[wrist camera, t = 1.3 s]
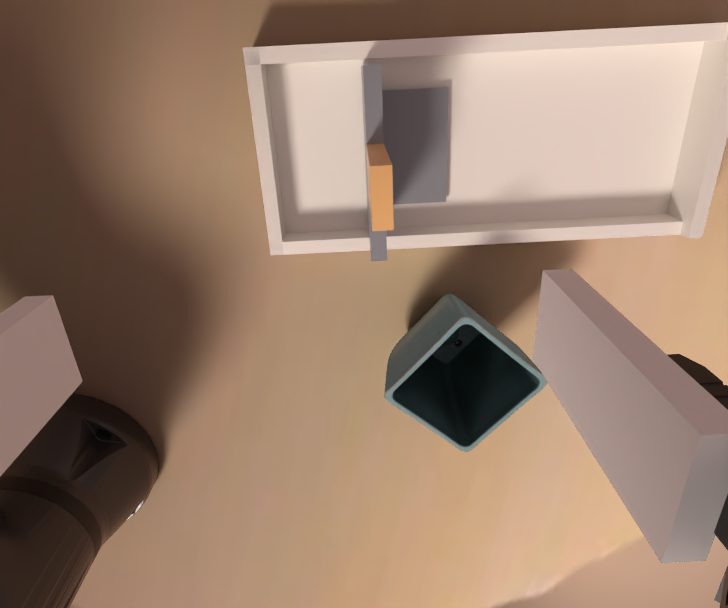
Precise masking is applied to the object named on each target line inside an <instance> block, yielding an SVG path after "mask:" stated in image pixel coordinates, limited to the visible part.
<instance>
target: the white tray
mask: <svg viewBox="0 0 728 608" xmlns="http://www.w3.org/2000/svg"><path fill="white" fill-rule="evenodd" d="M243 54H244V61H245V69H246V76H247V83H248V91H249V98H250V106H251V113H252V120H253V128H254V135H255V143H256V150H257V157H258V165H259V172H260V180H261V187H262V194H263V202H264V209H265V217H266V224H267V232H268V239H269V246H270V254H271V255H286V254H306V253H326V252H345V251H365V250H370V241H369V229H368V211H367V189H366V167H365V144H364V122H363V100H362V77H361V66H362V65H376V64H382V90H401V89H420V88H439V87H449V105H448V146H447V187H446V202H434V203H414V204H395V205H393V219H394V230H388V231H386V239H387V249H405V248H424V247H444V246H464V245H484V244H503V243H523V242H543V241H563V240H582V239H602V238H622V237H642V236H661V235H682V236H684V237H686V238H688V239H691V238H702V235H703V232H704V228H705V224H706V220H707V216H708V212H709V208H710V204H711V200H712V196H713V192H714V188H715V185H716V181H717V177H718V173H719V169H720V165H721V161H722V157H723V153H724V149H725V145H726V142H727V138H728V22H724V23H705V24H686V25H667V26H648V27H629V28H609V29H590V30H571V31H552V32H533V33H514V34H495V35H475V36H456V37H437V38H418V39H399V40H380V41H360V42H341V43H322V44H303V45H284V46H265V47H245V48H243Z"/></svg>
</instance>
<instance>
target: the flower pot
mask: <svg viewBox="0 0 728 608" xmlns="http://www.w3.org/2000/svg"><path fill="white" fill-rule="evenodd" d="M457 340H460V341H461V342H460V344H459V345H456V344H455V342H456V341H457ZM546 384H547V380H546V379H545V377H544V376H543V374H542V372H541V371H540V370H539V369H538V368H537V367H536V365H535V364H534V363H533V362H532V361H531V360H530V359H529V358H528V356H527V355H526V354H525V353H524V352H523V351H522V350H521V349H520V348H519V347H518V346H517V345H516V344H515V343H514V342H513V341H511V340H510V339H509V338H507V337H506V336H505V335H504V334H502V333H501V332H500V331H499V330H497V329H496V328H495V327H494V326H492V325H491V324H490V323H489V322H487V321H486V320H485V319H484V318H483V317H481V316H480V315H479V314H478V313H476V312H475V311H474V310H473V309H471V308H470V307H469V306H468V305H466V304H465V303H464V302H463V301H462V300H461V299H459V298H458V297H457V296H455V295H453V294H446V295H444V296H443V297H442V298H441V299H440V300H439V301H438V302H437V303H436V304H435V305H434V306H433V307H432V308H431V309H430V310H429V311H428V312H427V313H426V314H425V315H424V316H423V317H422V318H421V319H420V320H419V321H418V322H417V323H416V324H415V325H414V326H413V327H412V328H411V329H410V330H409V331H408V332H407V333H406V334H405V335H404V336H403V337H402V339H401V340H400V341H399V342H398V343H397V344H396V346H395V347H394V349H393V350H392V352H391V354H390V357H389V360H388V365H387V373H386V384H385V394H384V397H385V399H386V400H387V401H388V402H389V403H391V404H392V405H394V406H395V407H397V408H398V409H400V410H401V411H403V412H404V413H406V414H408V415H409V416H410V417H412V418H414V419H415V420H417V421H418V422H420V423H421V424H423V425H424V426H426V427H427V428H429V429H430V430H432V431H433V432H435V433H436V434H438V435H439V436H441V437H442V438H443V439H445V440H446V441H448V442H449V443H450V444H452V445H453V446H455V447H456V448H457V449H459V450H461V451H464V452H469V451H470V450H472V449H473V448H474V447H476V446H477V445H478V444H479V443H480V442H481V441H482V440H483V439H485V438H486V437H487V436H488V435H489V434H490V433H491V432H493V431H494V430H495V429H496V428H497V427H498V426H499V425H500V424H502V423H503V422H504V421H505V420H506V419H507V418H509V417H510V416H511V415H512V414H513V413H514V412H515V411H516V410H518V409H519V408H520V407H522V406H523V405H524V404H525V403H526V402H527V401H528V400H530V399H531V398H532V397H533V396H534V395H536V394H537V393H538V392H540V391H541V390H542V389H543V388H544V387H545V385H546Z"/></svg>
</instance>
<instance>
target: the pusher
mask: <svg viewBox="0 0 728 608" xmlns="http://www.w3.org/2000/svg"><path fill="white" fill-rule="evenodd" d="M361 77H362V100H363V122H364V144H365V167H366V189H367V211H368V229H369V241H370V252H371V261H383V260H387V239H386V231H388V230H394V219H393V205H395V204H414V203H434V202H446V187H447V146H448V105H449V87H439V88H420V89H401V90H382V64H376V65H362V66H361Z"/></svg>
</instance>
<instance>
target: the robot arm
mask: <svg viewBox="0 0 728 608" xmlns="http://www.w3.org/2000/svg"><path fill="white" fill-rule="evenodd" d="M533 360H534V361H535V363H536V365H537V366H538V368H539V369H540V371H541V372H542V374H543V376H544V377H545V379H546V380H547V382H548V384H549V385H550V387H551V388H552V390H553V392H554V393H555V395H556V396H557V398H558V400H559V401H560V403H561V404H562V406H563V407H564V409H565V411H566V412H567V414H568V415H569V417H570V419H571V420H572V422H573V423H574V425H575V427H576V428H577V430H578V431H579V433H580V435H581V436H582V438H583V439H584V441H585V443H586V444H587V446H588V447H589V449H590V450H591V452H592V454H593V455H594V457H595V458H596V460H597V462H598V463H599V465H600V466H601V468H602V470H603V471H604V473H605V474H606V476H607V478H608V479H609V481H610V482H611V484H612V485H613V487H614V489H615V490H616V492H617V493H618V495H619V497H620V498H621V500H622V501H623V503H624V505H625V506H626V508H627V509H628V511H629V513H630V514H631V516H632V517H633V519H634V521H635V522H636V524H637V525H638V527H639V528H640V530H641V532H642V533H643V535H644V536H645V538H646V540H647V541H648V543H649V544H650V546H651V547H652V549H653V551H654V552H655V554H656V556H657V557H658V559H659V560H660V562H661V563H671V562H690V561H706V559H707V556H708V554H709V551H710V548H711V546H712V543H713V540H714V537H715V535H716V536H717V537H718V538H719V540H720V541H721V542H722V544H723V545H724V546H725V547H726V549H727V550H728V386H727V385H723V382H722V381H721V380H720V379H719V378H718V377H716V376H715V375H714V374H713V373H712V372H710V371H709V370H708V369H707V368H706V367H704V366H702V365H700V364H698V363H696V362H694V361H692V360H690V359H688V358H686V357H684V356H682V355H680V354H671V355H666V354H665V353H664V352H663V351H662V350H661V349H660V348H659V347H658V346H657V345H655V344H654V343H653V342H652V341H651V340H650V339H649V338H648V337H647V336H645V335H644V334H643V333H642V332H641V331H640V330H639V329H638V328H637V327H635V326H634V325H633V324H632V323H631V322H630V321H629V320H628V319H627V318H625V317H624V316H623V315H622V314H621V313H620V312H619V311H618V310H617V309H616V308H614V307H613V306H612V305H611V304H610V303H609V302H608V301H607V300H606V299H604V298H603V297H602V296H601V295H600V294H599V293H598V292H597V291H596V290H594V289H593V288H592V287H591V286H590V285H589V284H588V283H587V282H586V281H585V280H583V279H582V278H581V277H580V276H579V275H578V274H577V273H576V272H575V271H573V270H572V269H555V270H543V273H542V282H541V290H540V299H539V308H538V316H537V325H536V333H535V342H534V351H533ZM82 382H83V381H82V378H81V375H80V372H79V369H78V366H77V363H76V360H75V358H74V355H73V352H72V349H71V346H70V343H69V340H68V337H67V334H66V331H65V329H64V326H63V323H62V320H61V317H60V314H59V311H58V308H57V305H56V302H55V300H54V297H53V295H47V296H27V297H23V298H22V299H20V300H19V301H17V302H16V303H14V304H13V305H12V306H10V307H9V308H7V309H6V310H4V311H3V312H1V313H0V608H69V607H70V605H71V603H72V601H73V599H74V597H75V595H76V594H77V592H78V590H79V588H80V586H81V584H82V582H83V580H84V578H85V576H86V574H87V572H88V570H89V569H90V567H91V565H92V563H93V561H94V559H95V557H96V555H97V553H98V551H99V550H100V548H101V546H102V545H103V544H104V543H105V542H106V541H107V540H108V539H109V538H110V537H111V536H112V535H113V534H114V533H115V532H116V531H117V529H118V528H119V527H120V526H121V525H122V524H123V523H124V522H125V521H126V520H128V519H129V518H130V517H132V516H133V515H134V514H135V513H136V512H137V511H138V510H139V509H140V508H141V507H142V505H143V504H144V503H145V501H146V499H147V498H148V496H149V494H150V491H151V489H152V487H153V485H154V483H155V481H156V478H157V475H158V457H157V453H156V450H155V448H154V445H153V443H152V441H151V440H150V438H149V437H148V435H147V434H146V432H145V431H144V430H143V429H142V428H141V427H140V426H139V425H138V424H137V423H136V422H135V421H134V420H133V419H132V418H130V417H129V416H128V415H126V414H125V413H123V412H122V411H120V410H119V409H117V408H115V407H113V406H111V405H109V404H107V403H104V402H102V401H99V400H96V399H93V398H89V397H85V396H79V395H72V393H73V392H74V391H75V390H76V389H77V387H78V386H79V385H80V384H81V383H82ZM715 601H717V602H719V603H720V608H728V567H727V569H726V572H725V574H724V577H723V579H722V582H721V584H720V587H719V589H718V592H717V594H716V597H715Z"/></svg>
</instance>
